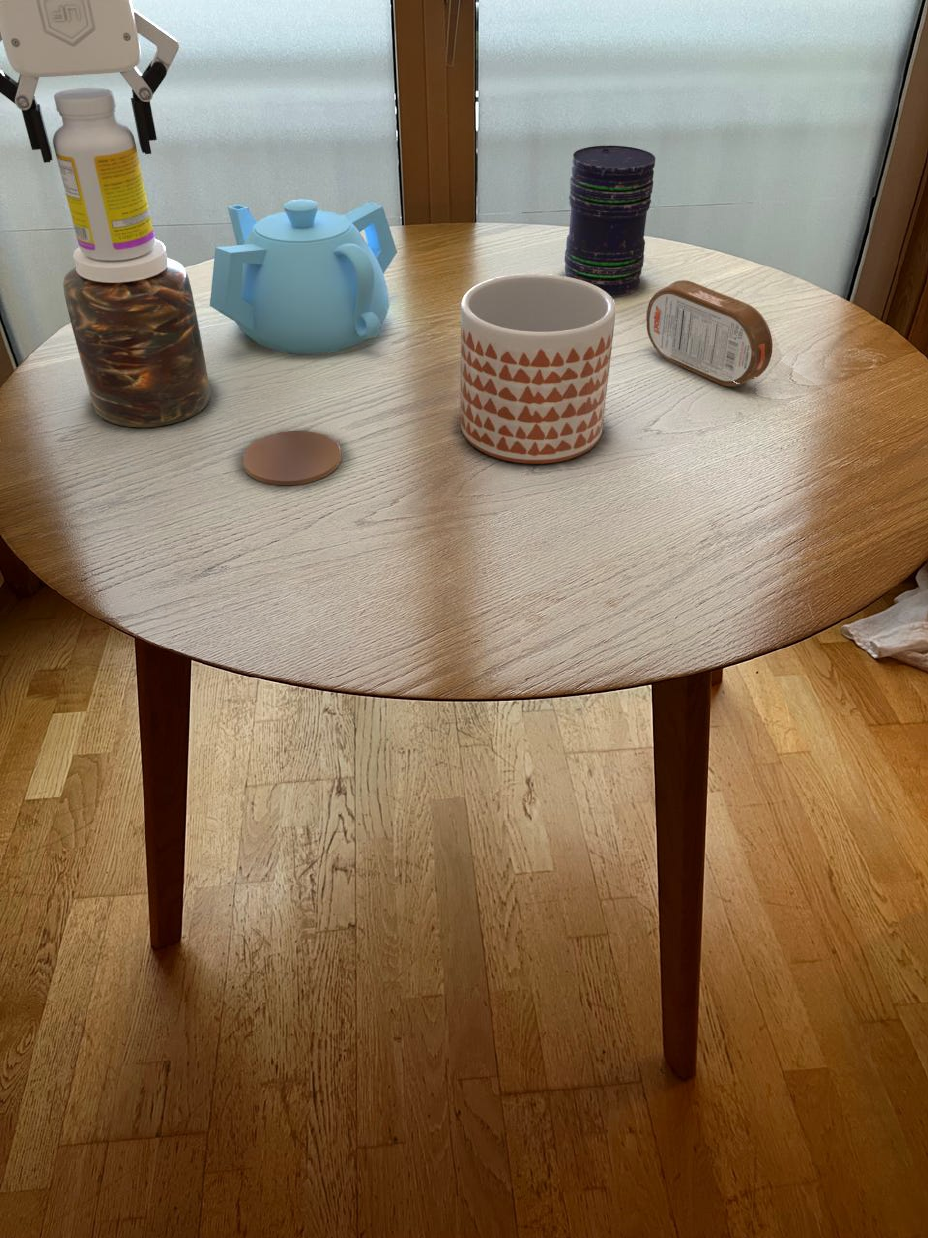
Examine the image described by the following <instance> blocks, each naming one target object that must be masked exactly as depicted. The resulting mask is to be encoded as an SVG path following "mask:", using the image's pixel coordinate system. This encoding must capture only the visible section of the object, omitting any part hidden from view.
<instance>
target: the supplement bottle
mask: <svg viewBox="0 0 928 1238" xmlns="http://www.w3.org/2000/svg"><path fill="white" fill-rule="evenodd" d="M53 98H54V102H55V107H56V112H58V115H59V116H60V117H61V120H62V125H61V126H60V127H59V128H57V130H56V131H55V132H54V134H53V138H52V144H53V145H52V146H53V149H54V153H55V157H56V158H55V159H56V160H57V163H58V169H59V172H60V176H61V180H62V184H63V188H64V192H65V196H66V200H67V204H68V208H69V211H70V215H71V220H72V224H73V228H74V231H75V236H76V239H77V243H78V247H80V249H81V251H82V252H83V253H84V254H85V255H86V256H87V257H89V258H92V259H96V260H104V261H119V260H128V259H133V258H136V257H140V256H142V255H144V254H146V253H148V252H149V251H150V250H152V249H153V247H154V245H155V239H156V238H155V232H154V228H153V222H152V217H151V212H150V207H149V203H148V202H149V201H148V198H147V192H146V189H145V183H144V178H143V174H142V169H141V164H140V158H139V155H138V149H137V144H136V140H135V136H134V134H133V132H132V130H131V129H130V128H129V127H128V126H127V125H125V124H124V123H122V122H119V121H118V120H117V118H116V114H115V113H116V108H117V105H116V101H115V96H114V92H113V90H110V89H108V88H103V87H77V88H70V89H65V90H60V91H58V92H56V93H55V94H54V95H53Z"/></svg>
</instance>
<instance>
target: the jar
mask: <svg viewBox="0 0 928 1238" xmlns="http://www.w3.org/2000/svg"><path fill="white" fill-rule="evenodd" d="M72 256H73V260H74V264H75V267H73V268H71V269H70V270H69V271H68V272H67V273H66V274H65V275H64V277H63V281H62V286H63V287H62V288H63V294H64V300H65V303H66V308H67V312H68V316H69V320H70V325H71V329H72V332H73V337H74V341H75V344H76V347H77V348H76V349H77V351H78V352H77V353H78V355H79V359H80V362H81V366H82V370H83V374H84V377H85V382H86V384H87V389H88V392H89V395H90V399H91V403H92V406H93V409H94V411H95V413H96V414H97V415H98V416H99V417H100V418H101V419H103V420H104V421H106V422H108V423H111V424H113V425H117V426H120V427H121V426H122V427H128V428H155V427H156V428H157V427H163V426H168V425H173V424H176V423H179V422H182V421H186V420H187V419H190V418H192V417H194V416H195V415H197V414H198V413H200V412H201V411H202V410H204V409H205V408H206V406H208V404H209V402H210V400H211V388H210V381H209V376H208V370H207V363H206V359H205V353H204V352H205V351H204V347H203V343H202V337H201V330H200V326H199V319H198V315H197V309H196V304H195V299H194V295H193V290H192V286H191V282H190V278H189V275H188V272H187V270H186V268H185V267H184V266H183V265H182V263H180V262H179V261H177V260H175V259H173V258H170V257H168V254H167V248H166V246H165V244H164V243H163V242H162V241H160V240H159V239H156V238H155V245H154V247H153V249H152V250H150V251H149V252H148V253H146V254H144V255H142V256H140V257H136V258H133V259H128V260H119V261H104V260H96V259H92V258H89V257H87V256H86V255H85V254H84V253H83V252H82V251H81V249H80V246H78V247H77V248H76V249H74V252H73V255H72Z"/></svg>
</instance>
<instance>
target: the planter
mask: <svg viewBox="0 0 928 1238" xmlns="http://www.w3.org/2000/svg"><path fill="white" fill-rule="evenodd" d="M616 310H617V307H616V303H615V300H614V299H613V297H611V296H610V295H609V294H608V293H606V292H605V291H604V290H602V289H601V288H599V287H597V286H595V285H593V284H590V283H588V282H585V281H582V280H578V279H574V278H570V277H565V276H564V275H558V274H549V273H519V274H510V275H504V276H497V277H494V278H491V279H487V280H485V281H483V282H480V283H479V284H476V285H475V286H473V287H472V288H470V289H469V290H468V291H467V292H466V293H465V294H464V296H463V298H462V299H461V303H460V430H461V432H462V434H463V436H464V438H465V440H466V441H467V442H468V443H469V444H470V445H472V446H473V447H474V448H476V449H477V450H478V451H480V452H481V453H484V454H486V455H488V456H491V457H492V458H495V459H499V460H502V461H506V462H512V463H518V464H527V465H528V464H529V465H531V464H532V465H540V464H541V465H543V464H553V463H558V462H564V461H568V460H571V459H574V458H576V457H579V456H581V455H583V454H585V453H587V452H588V451H590V450H591V449H592V448H593V447H595V445H596V444H597V443H598V442H599V441H600V439H601V436H602V433H603V426H604V420H605V419H604V418H605V409H606V401H607V393H608V383H609V375H610V366H611V357H612V347H613V340H614V329H615V322H616V321H615V320H616V312H617V311H616Z"/></svg>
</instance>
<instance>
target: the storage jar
mask: <svg viewBox="0 0 928 1238" xmlns="http://www.w3.org/2000/svg"><path fill="white" fill-rule="evenodd" d="M572 165H573V166H571V177H570V181H569V190H570V192H569V196H568V200H569V201H568V203H569V206H570V215H569V217H570V218H569V230H568V235H567V236H566V244H565V245H566V246H565V250H564V261H563V262H564V271H565V274H564V275H563V276H565V277H570V278H574V279H578V280H582V281H585V282H588V283H590V284H593V285H595V286H597V287H599V288H601V289H602V290H604V291H605V292H606V293H608V294H609V295H610V296H611V298H619V297H625V296H628V295H631V294H633V293H635V292H636V291H638V290H639V288H640V286H641V278H640V277H641V274H642V268H643V267H644V261H645V246H646V240H645V230H646V222H647V216H648V215H647V214H648V211H649V209H650V207H651V204H652V200H651V199H652V194H653V188H654V175H655V174H654V173H655V171H654V169H655V167H656V166H655V165H656V156H655V155H654V153H651V152H650V151H647V150H644V149H643V148H642V149H641V148H637V147H632V146H624V145H593V146H587V147H583V148H580V149H578V150H576V151H574V152H573V154H572Z"/></svg>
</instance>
